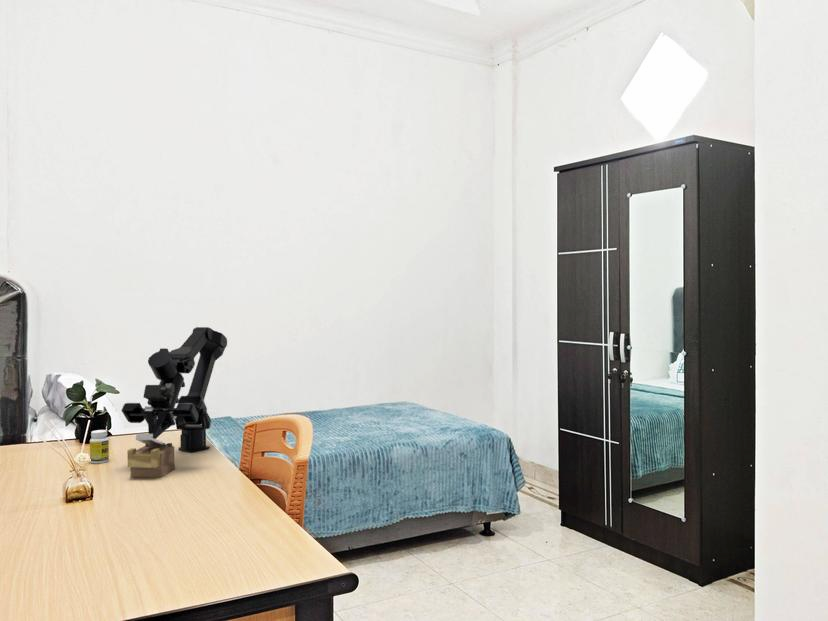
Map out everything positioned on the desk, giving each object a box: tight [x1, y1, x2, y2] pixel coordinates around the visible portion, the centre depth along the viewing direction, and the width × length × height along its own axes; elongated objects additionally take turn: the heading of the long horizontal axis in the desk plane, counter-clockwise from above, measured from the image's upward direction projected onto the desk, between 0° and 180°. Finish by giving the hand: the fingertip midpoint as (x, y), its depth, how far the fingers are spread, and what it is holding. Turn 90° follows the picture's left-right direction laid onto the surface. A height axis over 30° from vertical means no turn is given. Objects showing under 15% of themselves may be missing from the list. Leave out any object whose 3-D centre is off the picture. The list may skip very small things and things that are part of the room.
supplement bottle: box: [89, 429, 110, 464], centre depth 188 cm, size 5×5×8 cm
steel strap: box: [135, 433, 168, 446], centre depth 175 cm, size 10×4×2 cm, turn 177°
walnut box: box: [126, 442, 176, 478], centre depth 174 cm, size 10×8×7 cm
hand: (150, 440), depth 174 cm, fingers closed, pressing on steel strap
